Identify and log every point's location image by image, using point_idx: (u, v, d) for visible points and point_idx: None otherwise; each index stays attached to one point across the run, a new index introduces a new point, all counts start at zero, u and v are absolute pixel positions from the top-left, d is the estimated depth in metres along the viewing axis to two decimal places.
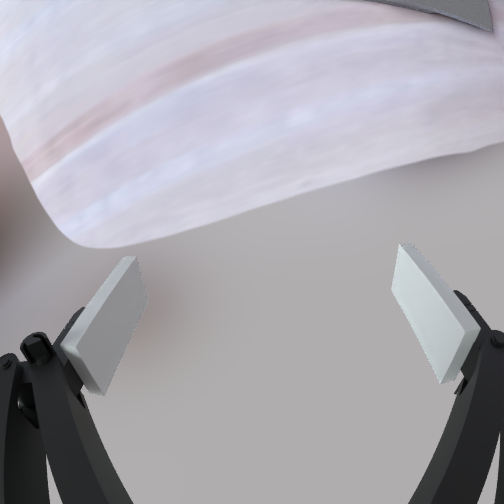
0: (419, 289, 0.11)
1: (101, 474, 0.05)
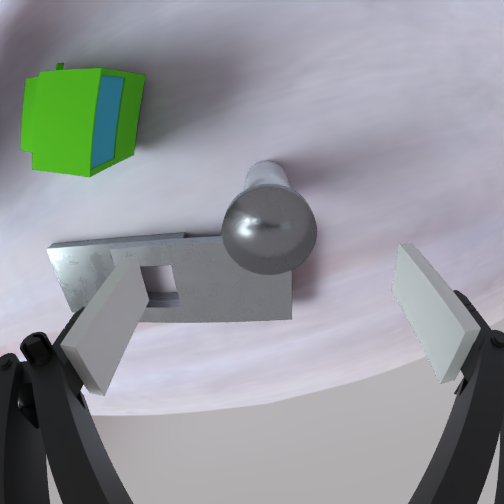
0: (419, 289, 0.11)
1: (100, 474, 0.05)
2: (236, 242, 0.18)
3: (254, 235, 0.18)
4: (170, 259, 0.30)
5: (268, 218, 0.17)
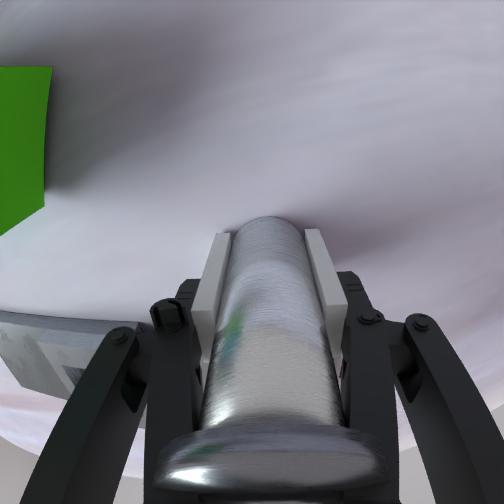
0: None
1: None
2: None
3: None
4: None
5: (269, 498, 0.05)
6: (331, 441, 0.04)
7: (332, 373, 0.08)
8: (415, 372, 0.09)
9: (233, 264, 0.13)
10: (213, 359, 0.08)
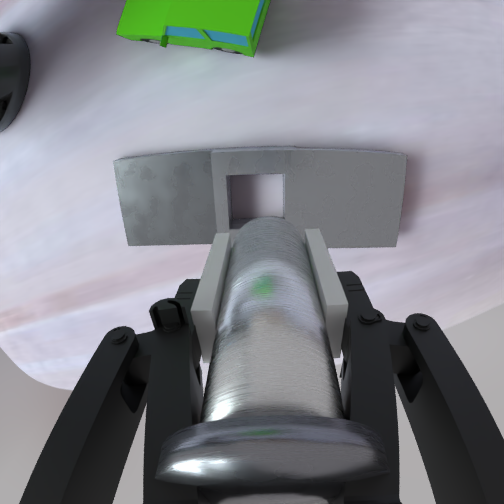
0: (312, 269, 0.14)
1: None
2: None
3: (235, 500, 0.05)
4: (285, 166, 0.27)
5: (271, 491, 0.05)
6: (330, 432, 0.05)
7: (331, 368, 0.08)
8: (415, 372, 0.09)
9: (234, 263, 0.13)
10: (214, 355, 0.09)
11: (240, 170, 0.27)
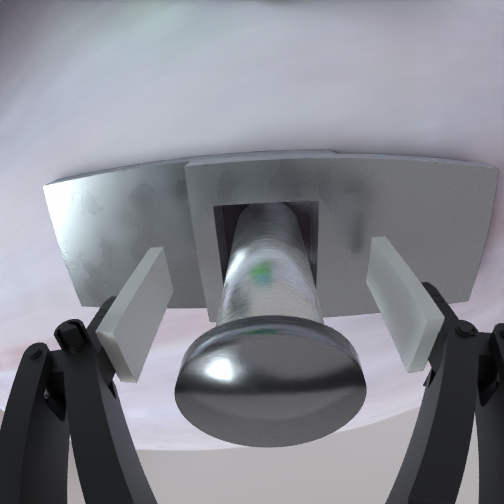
0: (388, 280, 0.12)
1: (126, 468, 0.05)
2: (206, 414, 0.08)
3: (240, 409, 0.08)
4: (320, 188, 0.15)
5: (268, 390, 0.07)
6: (311, 329, 0.07)
7: (316, 305, 0.10)
8: (492, 380, 0.08)
9: (238, 234, 0.16)
10: (224, 297, 0.11)
11: (239, 196, 0.15)
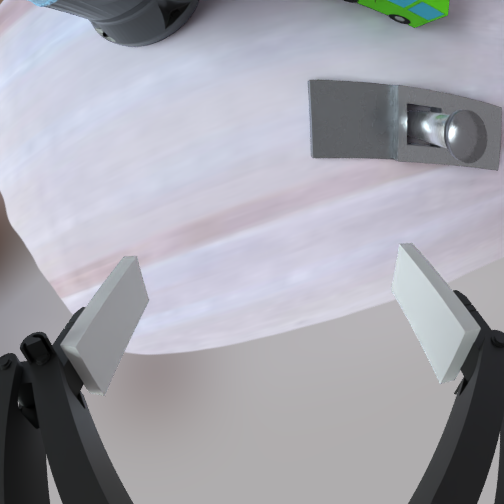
0: (419, 289, 0.11)
1: (101, 474, 0.05)
2: (454, 138, 0.23)
3: (463, 136, 0.23)
4: (442, 103, 0.30)
5: (469, 127, 0.22)
6: None
7: None
8: None
9: (418, 115, 0.30)
10: (437, 120, 0.26)
11: (416, 101, 0.30)
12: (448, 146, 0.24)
